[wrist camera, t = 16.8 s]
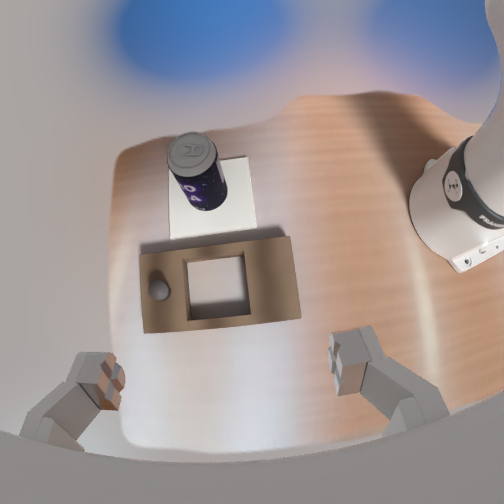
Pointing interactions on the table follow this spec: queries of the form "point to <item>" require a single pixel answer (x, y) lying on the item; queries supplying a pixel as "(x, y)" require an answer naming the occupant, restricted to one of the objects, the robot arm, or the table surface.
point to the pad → (222, 218)
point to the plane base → (256, 258)
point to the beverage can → (198, 170)
